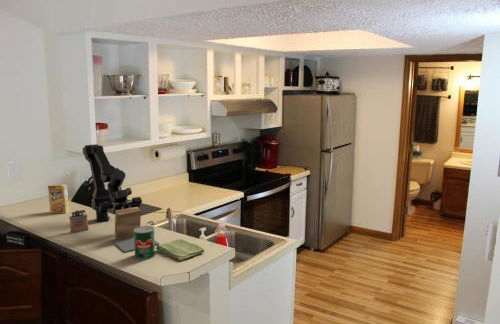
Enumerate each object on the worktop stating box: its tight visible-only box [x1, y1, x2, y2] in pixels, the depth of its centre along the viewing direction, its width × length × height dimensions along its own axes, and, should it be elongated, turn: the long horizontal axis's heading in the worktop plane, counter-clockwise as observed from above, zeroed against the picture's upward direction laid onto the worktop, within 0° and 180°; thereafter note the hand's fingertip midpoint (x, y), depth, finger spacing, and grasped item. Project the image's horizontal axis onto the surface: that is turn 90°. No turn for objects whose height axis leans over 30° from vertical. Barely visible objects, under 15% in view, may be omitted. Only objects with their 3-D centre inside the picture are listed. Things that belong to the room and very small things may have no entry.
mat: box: [112, 237, 160, 254], centre depth 184 cm, size 15×15×1 cm
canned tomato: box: [134, 225, 156, 261], centre depth 170 cm, size 8×8×11 cm
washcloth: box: [155, 238, 205, 262], centre depth 174 cm, size 13×18×3 cm
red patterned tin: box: [68, 209, 89, 234], centre depth 201 cm, size 8×3×10 cm, turn 123°
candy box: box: [47, 183, 70, 214], centre depth 233 cm, size 9×4×15 cm, turn 87°
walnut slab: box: [114, 207, 142, 240], centre depth 190 cm, size 4×10×13 cm, turn 126°
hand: (126, 221), depth 192 cm, fingers closed
